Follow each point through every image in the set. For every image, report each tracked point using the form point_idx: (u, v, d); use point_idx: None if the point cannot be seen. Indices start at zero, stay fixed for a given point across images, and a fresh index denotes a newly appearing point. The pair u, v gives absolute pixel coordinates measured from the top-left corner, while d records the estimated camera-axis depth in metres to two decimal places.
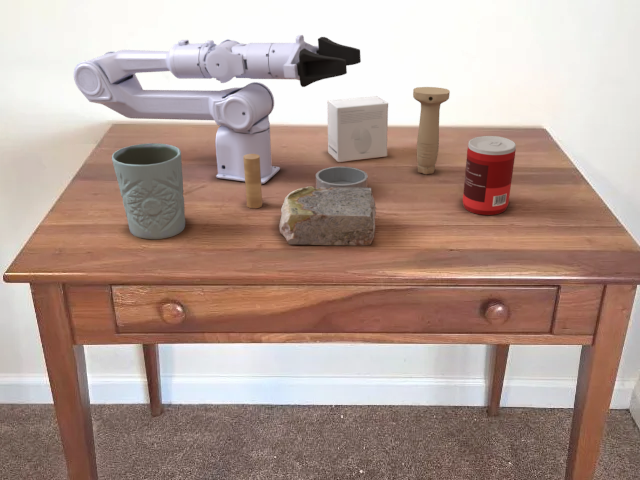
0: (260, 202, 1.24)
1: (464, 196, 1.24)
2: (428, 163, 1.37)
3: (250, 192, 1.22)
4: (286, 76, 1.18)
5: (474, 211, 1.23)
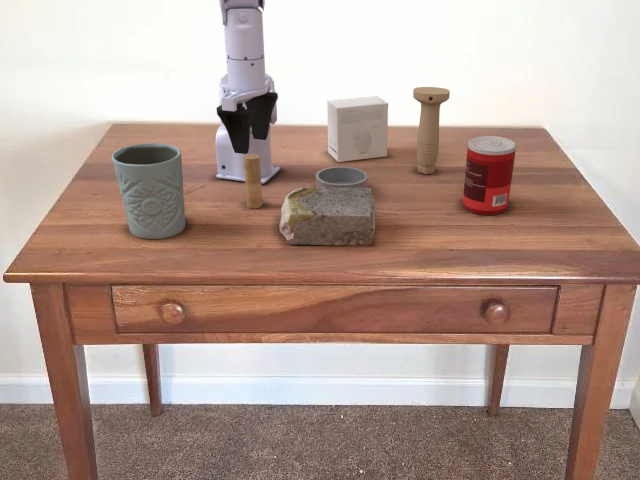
0: (260, 202, 1.24)
1: (464, 196, 1.24)
2: (428, 163, 1.37)
3: (250, 192, 1.22)
4: None
5: (474, 211, 1.23)
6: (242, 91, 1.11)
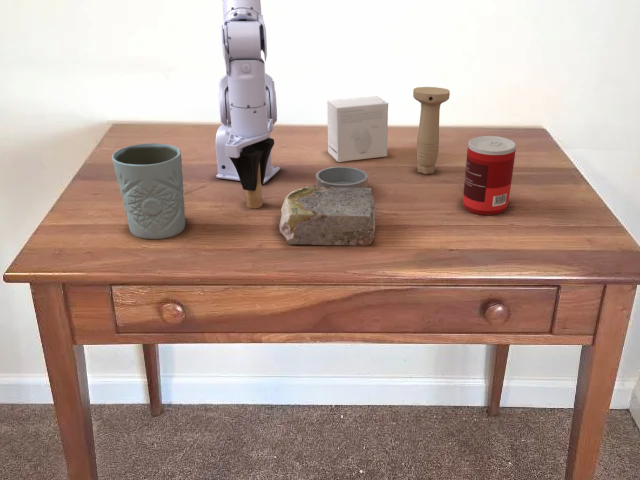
0: (260, 202, 1.24)
1: (464, 196, 1.24)
2: (428, 163, 1.37)
3: (250, 192, 1.22)
4: None
5: (474, 211, 1.23)
6: (245, 137, 1.16)
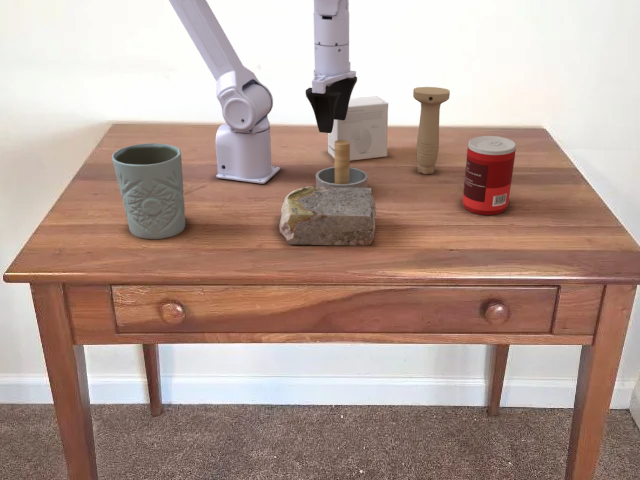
0: None
1: (464, 196, 1.24)
2: (428, 163, 1.37)
3: (346, 177, 1.28)
4: (313, 83, 1.18)
5: (474, 211, 1.23)
6: None
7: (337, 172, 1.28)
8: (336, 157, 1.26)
